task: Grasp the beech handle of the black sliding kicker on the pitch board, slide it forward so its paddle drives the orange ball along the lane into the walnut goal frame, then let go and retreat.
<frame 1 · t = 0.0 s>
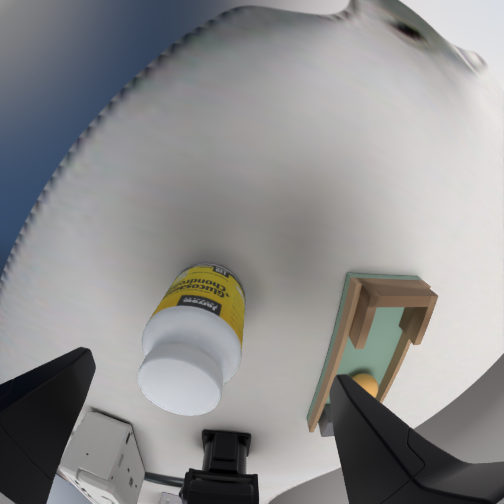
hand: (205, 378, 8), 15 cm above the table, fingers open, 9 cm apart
stereo radio cassette player: (122, 444, 33), on the table
kicker: (352, 438, 23), point 6 cm above the table, slide at 0.0 cm
ball: (357, 378, 26), point 1 cm above the table, touching pitch
goal: (379, 298, 24), resting on pitch
pitch: (359, 359, 26), on the table
pill bottle: (208, 294, 24), on the table
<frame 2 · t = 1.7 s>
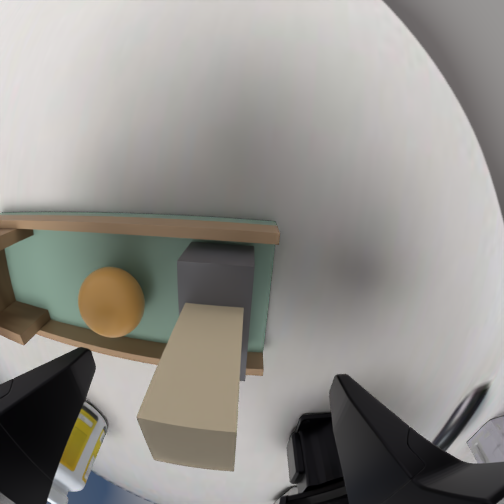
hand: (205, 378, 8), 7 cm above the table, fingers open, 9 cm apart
kicker: (208, 353, 10), point 6 cm above the table, slide at 0.0 cm
ball: (124, 287, 14), point 1 cm above the table, touching pitch
goal: (27, 265, 15), resting on pitch
pitch: (103, 276, 15), on the table
pill bottle: (82, 410, 20), on the table
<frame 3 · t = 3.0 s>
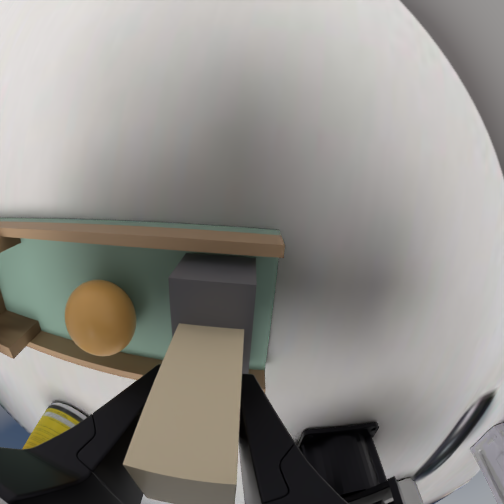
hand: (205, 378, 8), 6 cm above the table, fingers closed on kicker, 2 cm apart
stereo radio cassette player: (348, 495, 24), on the table
kicker: (205, 381, 8), point 6 cm above the table, slide at 0.0 cm, touching gripper
ball: (115, 300, 13), point 1 cm above the table, touching pitch
goal: (16, 273, 13), resting on pitch
pitch: (94, 288, 14), on the table
pill bottle: (78, 420, 19), on the table
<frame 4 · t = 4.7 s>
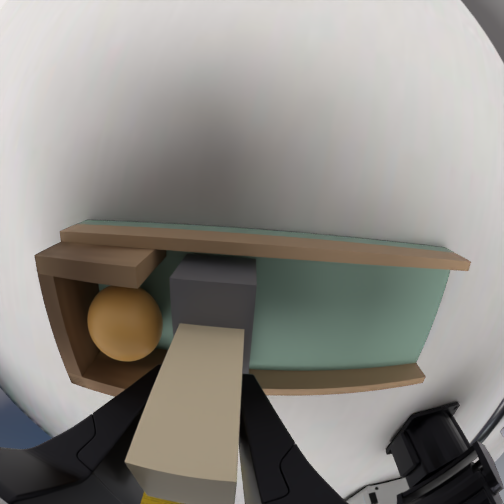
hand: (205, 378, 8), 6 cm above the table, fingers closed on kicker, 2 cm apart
stereo radio cassette player: (405, 480, 24), on the table
kicker: (205, 380, 8), point 6 cm above the table, slide at 10.0 cm, touching gripper
ball: (93, 315, 11), point 3 cm above the table, tilted 88°, touching pitch
goal: (131, 293, 14), resting on pitch
pitch: (269, 306, 14), on the table
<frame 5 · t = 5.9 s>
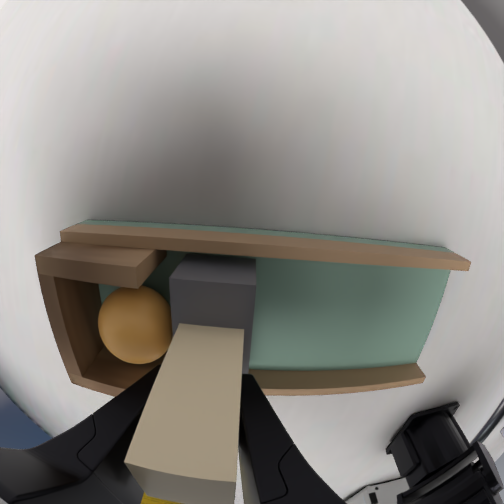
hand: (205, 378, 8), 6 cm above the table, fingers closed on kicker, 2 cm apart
stereo radio cassette player: (405, 480, 24), on the table
kicker: (205, 380, 8), point 6 cm above the table, slide at 10.0 cm, touching gripper
ball: (99, 324, 11), point 3 cm above the table, tilted 106°, touching pitch
goal: (131, 293, 14), resting on pitch
pitch: (270, 307, 14), on the table
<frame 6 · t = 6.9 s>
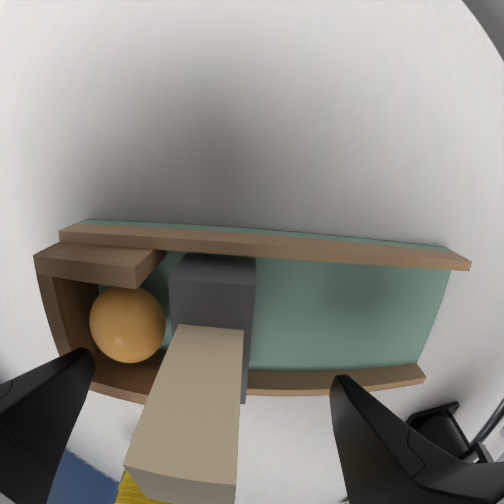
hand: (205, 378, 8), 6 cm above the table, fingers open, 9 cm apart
kicker: (204, 381, 8), point 6 cm above the table, slide at 10.0 cm
ball: (93, 318, 11), point 3 cm above the table, tilted 93°, touching pitch
goal: (130, 293, 14), resting on pitch
pitch: (269, 307, 14), on the table
pill bottle: (170, 447, 19), on the table
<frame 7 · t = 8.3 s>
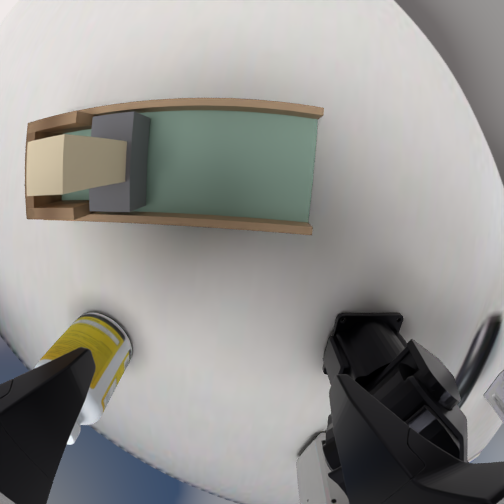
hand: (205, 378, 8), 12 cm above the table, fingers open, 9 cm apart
stereo radio cassette player: (371, 438, 28), on the table
kicker: (94, 162, 12), point 6 cm above the table, slide at 10.0 cm
goal: (81, 164, 18), resting on pitch
pitch: (166, 161, 18), on the table
pill bottle: (105, 337, 23), on the table
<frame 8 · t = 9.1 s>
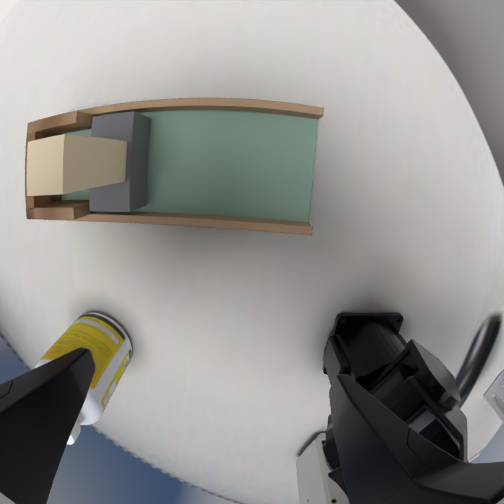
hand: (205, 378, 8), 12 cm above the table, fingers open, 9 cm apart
stereo radio cassette player: (371, 438, 28), on the table
kicker: (94, 162, 12), point 6 cm above the table, slide at 10.0 cm
goal: (82, 164, 18), resting on pitch
pitch: (166, 161, 18), on the table
pill bottle: (105, 337, 23), on the table
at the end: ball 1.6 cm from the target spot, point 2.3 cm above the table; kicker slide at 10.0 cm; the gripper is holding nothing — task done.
